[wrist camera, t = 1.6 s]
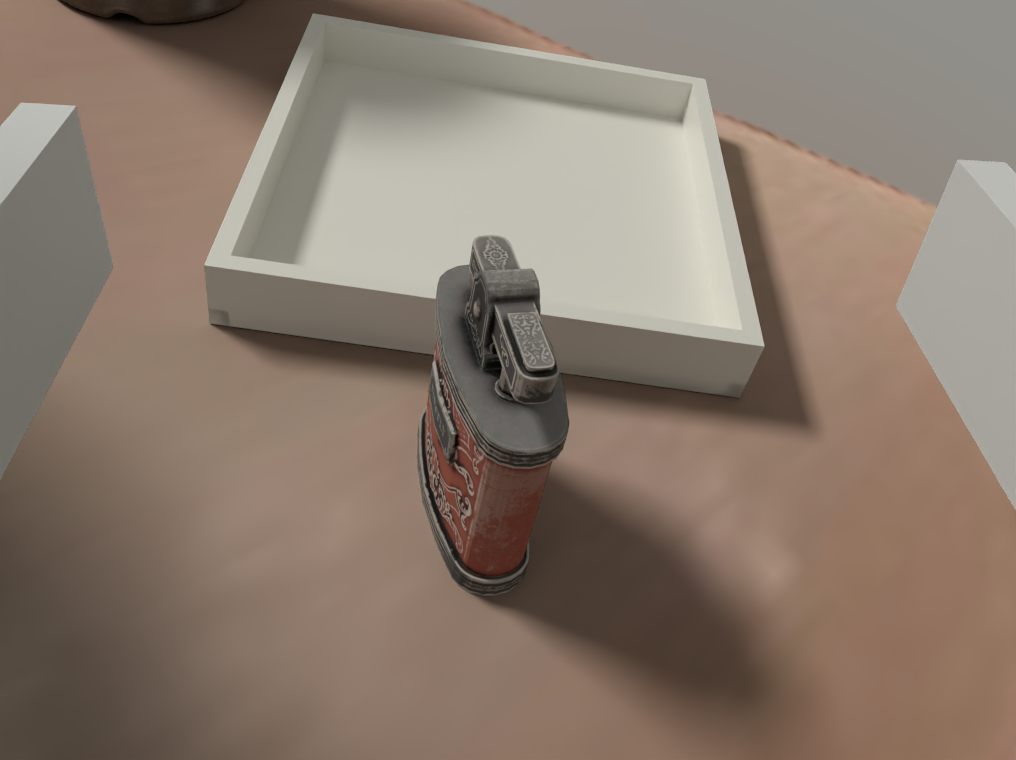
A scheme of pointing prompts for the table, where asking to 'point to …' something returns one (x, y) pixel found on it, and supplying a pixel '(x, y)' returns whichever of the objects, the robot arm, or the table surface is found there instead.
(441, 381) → the lighter
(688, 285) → the tray
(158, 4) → the plant pot
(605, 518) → the table surface
